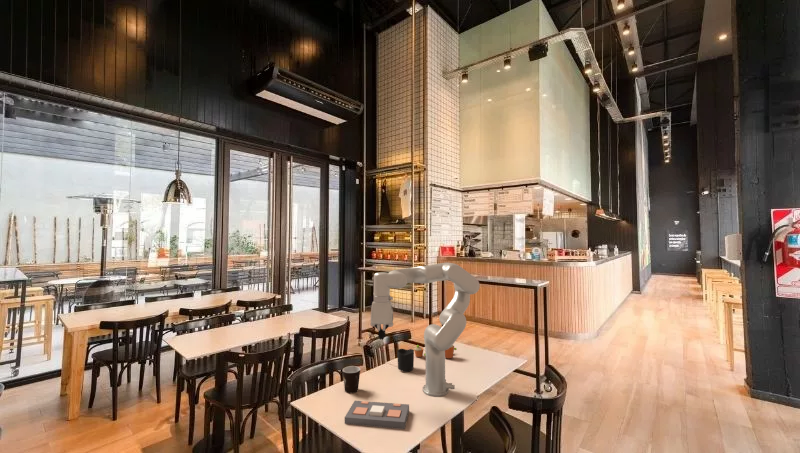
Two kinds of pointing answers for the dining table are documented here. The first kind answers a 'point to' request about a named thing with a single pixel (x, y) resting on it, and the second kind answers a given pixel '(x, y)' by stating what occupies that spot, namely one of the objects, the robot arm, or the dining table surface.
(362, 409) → the key
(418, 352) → the potted plants
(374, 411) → the key middle
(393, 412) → the key
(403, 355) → the pen holder
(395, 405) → the keypad housing
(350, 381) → the coffee mug
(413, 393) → the dining table surface
